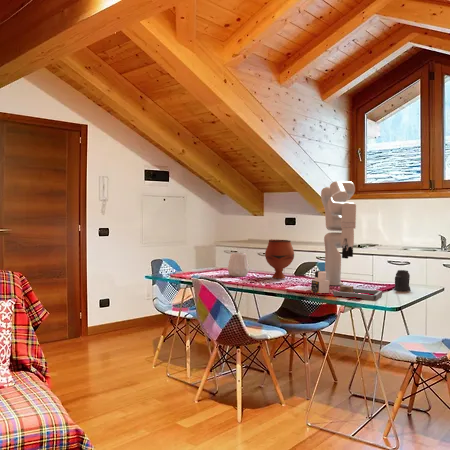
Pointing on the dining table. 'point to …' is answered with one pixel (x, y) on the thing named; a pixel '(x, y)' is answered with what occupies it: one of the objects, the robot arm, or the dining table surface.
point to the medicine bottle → (320, 283)
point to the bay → (364, 296)
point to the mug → (402, 281)
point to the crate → (346, 288)
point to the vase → (238, 264)
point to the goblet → (279, 256)
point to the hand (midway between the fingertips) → (347, 257)
